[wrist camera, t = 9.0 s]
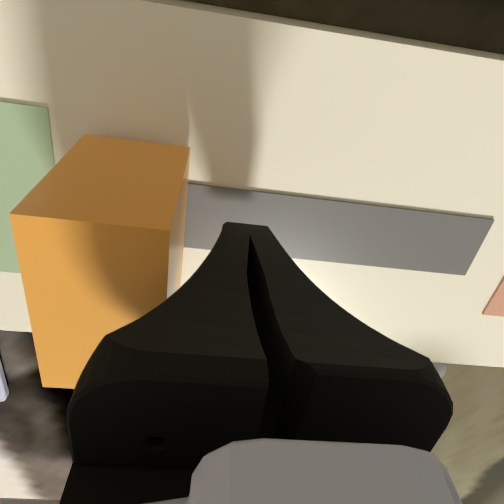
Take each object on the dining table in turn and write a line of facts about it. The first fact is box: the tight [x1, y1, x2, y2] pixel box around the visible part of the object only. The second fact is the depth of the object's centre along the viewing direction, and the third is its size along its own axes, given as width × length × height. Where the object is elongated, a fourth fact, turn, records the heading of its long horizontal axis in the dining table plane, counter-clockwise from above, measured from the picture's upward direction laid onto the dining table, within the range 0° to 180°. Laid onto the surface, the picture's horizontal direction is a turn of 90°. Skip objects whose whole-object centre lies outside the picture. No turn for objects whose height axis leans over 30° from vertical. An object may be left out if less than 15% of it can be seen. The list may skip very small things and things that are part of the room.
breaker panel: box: [0, 0, 504, 367], centre depth 16 cm, size 22×12×3 cm, turn 82°
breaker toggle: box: [9, 134, 190, 389], centre depth 11 cm, size 3×5×5 cm, turn 171°
